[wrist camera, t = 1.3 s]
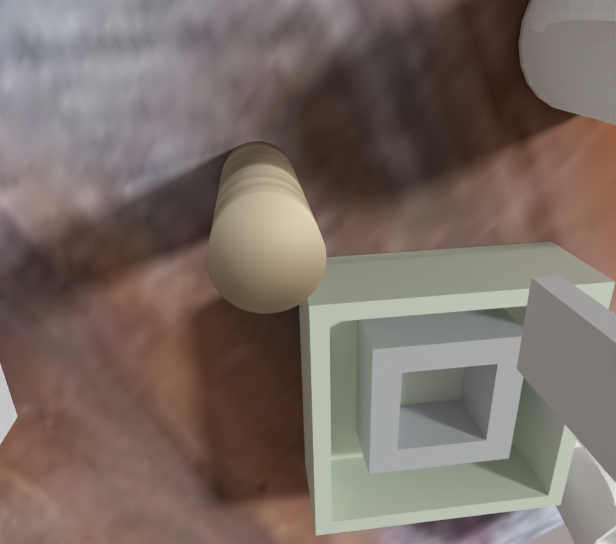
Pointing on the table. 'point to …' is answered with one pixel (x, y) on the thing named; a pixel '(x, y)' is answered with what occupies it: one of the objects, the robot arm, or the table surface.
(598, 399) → the robot arm
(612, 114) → the mug
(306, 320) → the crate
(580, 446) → the cup
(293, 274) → the peg
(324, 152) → the table surface
